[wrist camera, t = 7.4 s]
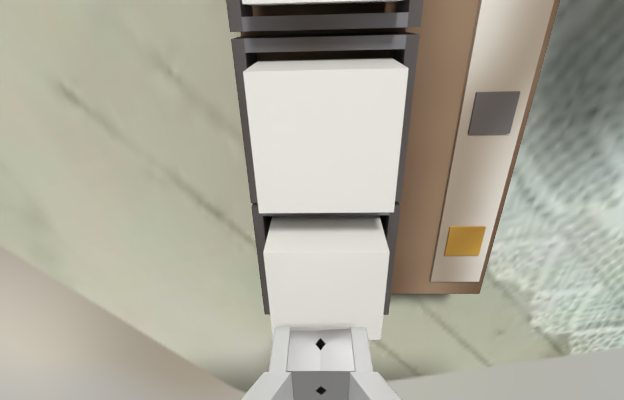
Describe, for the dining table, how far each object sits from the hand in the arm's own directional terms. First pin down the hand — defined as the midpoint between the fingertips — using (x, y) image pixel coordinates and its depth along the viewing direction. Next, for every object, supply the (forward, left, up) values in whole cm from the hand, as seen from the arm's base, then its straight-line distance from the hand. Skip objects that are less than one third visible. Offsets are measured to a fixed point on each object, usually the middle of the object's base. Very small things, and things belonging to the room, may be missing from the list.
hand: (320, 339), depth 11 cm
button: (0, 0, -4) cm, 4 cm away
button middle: (0, -6, -4) cm, 7 cm away
